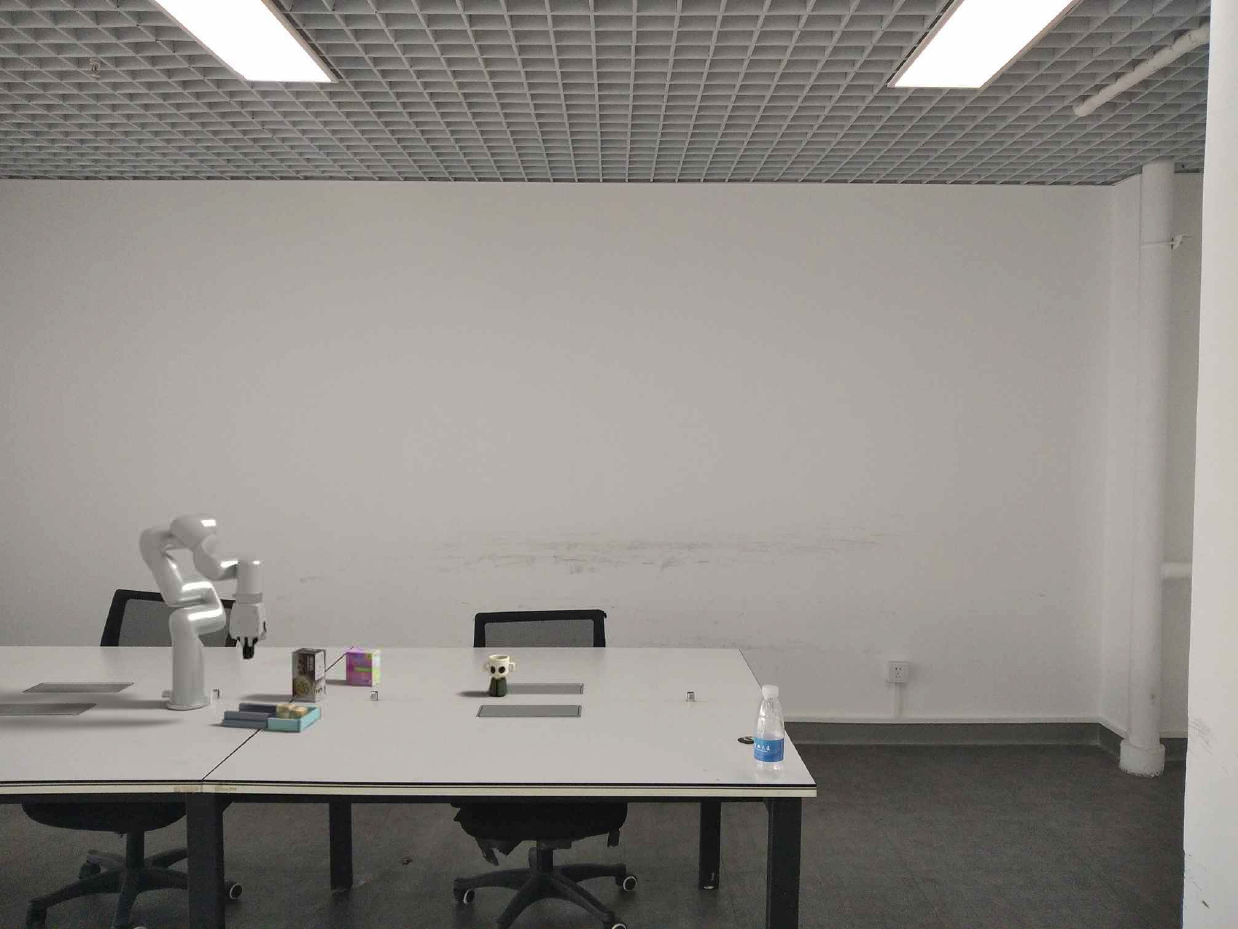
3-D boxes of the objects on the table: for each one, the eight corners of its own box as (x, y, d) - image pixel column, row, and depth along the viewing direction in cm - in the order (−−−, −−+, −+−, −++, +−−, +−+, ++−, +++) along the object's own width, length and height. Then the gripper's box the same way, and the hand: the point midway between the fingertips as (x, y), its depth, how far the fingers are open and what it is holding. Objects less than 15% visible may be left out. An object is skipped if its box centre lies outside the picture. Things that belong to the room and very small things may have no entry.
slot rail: (222, 726, 282) (222, 713, 282) (243, 714, 294) (243, 701, 294) (266, 729, 280) (266, 715, 280) (285, 717, 292) (285, 704, 292)
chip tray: (267, 730, 279) (267, 718, 279) (290, 716, 293) (290, 705, 293) (299, 732, 278) (299, 720, 278) (320, 718, 292) (320, 707, 292)
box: (345, 684, 330) (345, 651, 330) (353, 680, 336) (354, 647, 335) (372, 687, 328) (372, 653, 327) (380, 682, 333) (380, 649, 333)
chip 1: (275, 719, 284) (276, 705, 284) (282, 715, 288) (283, 702, 288) (288, 720, 284) (289, 707, 283) (294, 716, 288) (295, 703, 287)
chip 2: (289, 710, 283) (301, 711, 283) (295, 706, 287) (307, 707, 287) (288, 723, 284) (300, 724, 283) (294, 719, 288) (306, 720, 287)
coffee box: (326, 697, 314) (326, 649, 314) (315, 702, 308) (315, 653, 307) (302, 694, 317) (302, 647, 316) (290, 700, 310) (291, 651, 310)
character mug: (480, 697, 318) (481, 659, 318) (484, 691, 325) (485, 654, 325) (512, 698, 318) (513, 660, 317) (515, 692, 325) (516, 655, 324)
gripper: (219, 599, 284) (218, 659, 285) (266, 602, 282) (265, 663, 283) (232, 595, 291) (232, 654, 292) (278, 597, 289) (277, 657, 290)
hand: (248, 658), depth 287 cm, fingers closed
